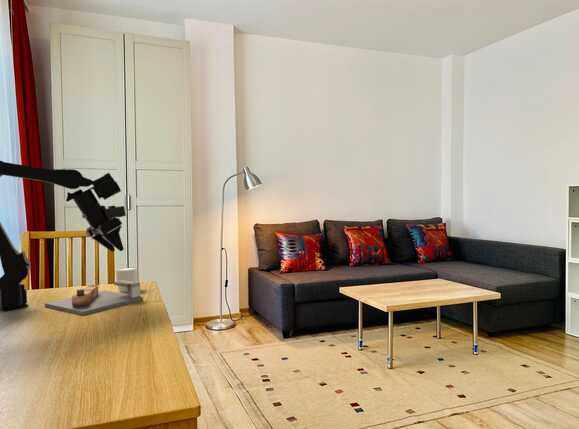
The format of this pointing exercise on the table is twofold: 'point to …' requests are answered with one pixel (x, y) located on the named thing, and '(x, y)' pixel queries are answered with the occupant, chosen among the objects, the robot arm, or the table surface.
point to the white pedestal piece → (126, 276)
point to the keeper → (130, 287)
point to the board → (94, 303)
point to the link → (84, 296)
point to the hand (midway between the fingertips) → (117, 250)
